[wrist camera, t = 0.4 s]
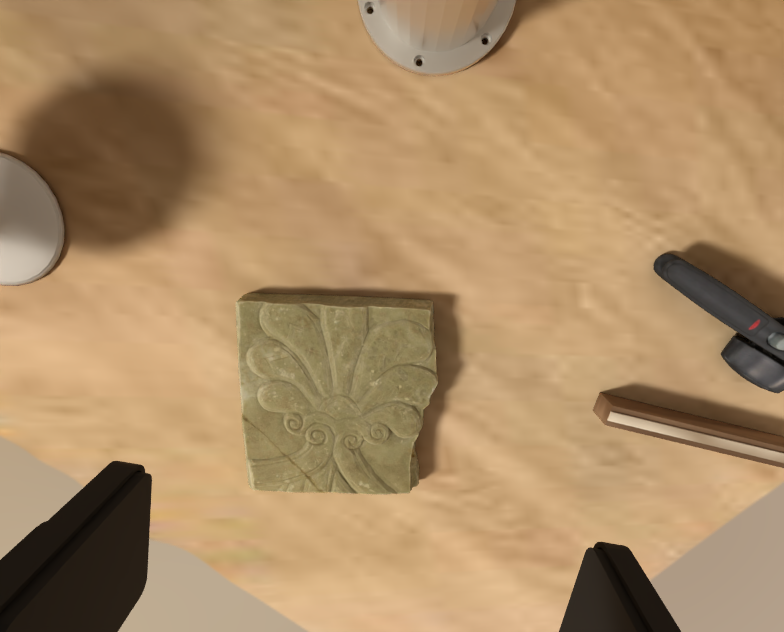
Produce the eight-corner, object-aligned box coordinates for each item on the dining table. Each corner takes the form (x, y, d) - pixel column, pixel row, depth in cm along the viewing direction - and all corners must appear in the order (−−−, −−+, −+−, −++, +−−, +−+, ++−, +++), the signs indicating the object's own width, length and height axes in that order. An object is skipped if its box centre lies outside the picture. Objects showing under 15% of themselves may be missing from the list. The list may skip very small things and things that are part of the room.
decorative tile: (254, 476, 51) (243, 497, 47) (243, 291, 46) (230, 299, 42) (430, 482, 50) (432, 504, 47) (439, 296, 45) (442, 305, 42)
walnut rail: (599, 392, 47) (613, 406, 44) (783, 436, 47) (809, 454, 44) (592, 410, 47) (606, 426, 44) (774, 454, 48) (799, 472, 45)
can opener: (816, 338, 45) (872, 359, 40) (759, 393, 46) (806, 420, 41) (679, 224, 43) (720, 229, 37) (625, 285, 44) (655, 299, 39)
